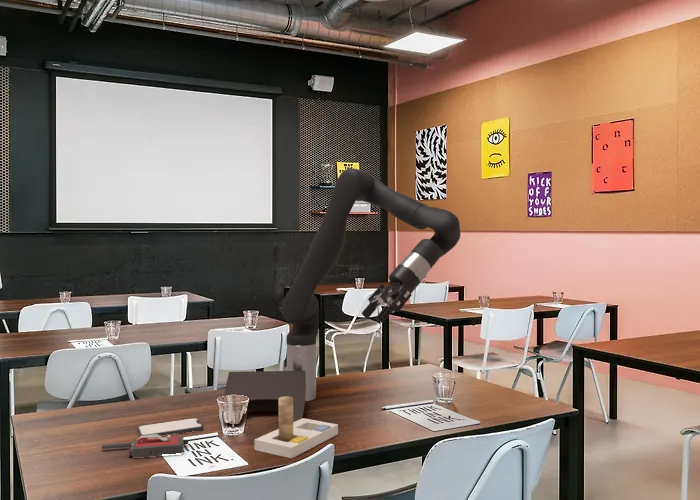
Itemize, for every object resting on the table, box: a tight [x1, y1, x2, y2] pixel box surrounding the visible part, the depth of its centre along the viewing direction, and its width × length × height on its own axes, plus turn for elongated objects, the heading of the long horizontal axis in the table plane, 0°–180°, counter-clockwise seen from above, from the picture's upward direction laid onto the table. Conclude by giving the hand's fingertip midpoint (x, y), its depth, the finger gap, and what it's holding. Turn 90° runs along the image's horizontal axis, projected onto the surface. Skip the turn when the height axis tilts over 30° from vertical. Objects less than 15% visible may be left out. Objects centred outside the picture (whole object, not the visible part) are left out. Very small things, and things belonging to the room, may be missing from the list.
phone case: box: [136, 418, 204, 437], centre depth 164 cm, size 9×2×16 cm
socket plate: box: [254, 417, 339, 459], centre depth 154 cm, size 20×11×3 cm, turn 149°
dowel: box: [278, 396, 293, 442], centre depth 150 cm, size 4×4×12 cm
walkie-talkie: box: [101, 434, 189, 458], centre depth 147 cm, size 9×4×20 cm
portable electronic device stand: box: [223, 370, 306, 422], centre depth 177 cm, size 23×23×9 cm
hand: (371, 318), depth 161 cm, fingers open, 8 cm apart
